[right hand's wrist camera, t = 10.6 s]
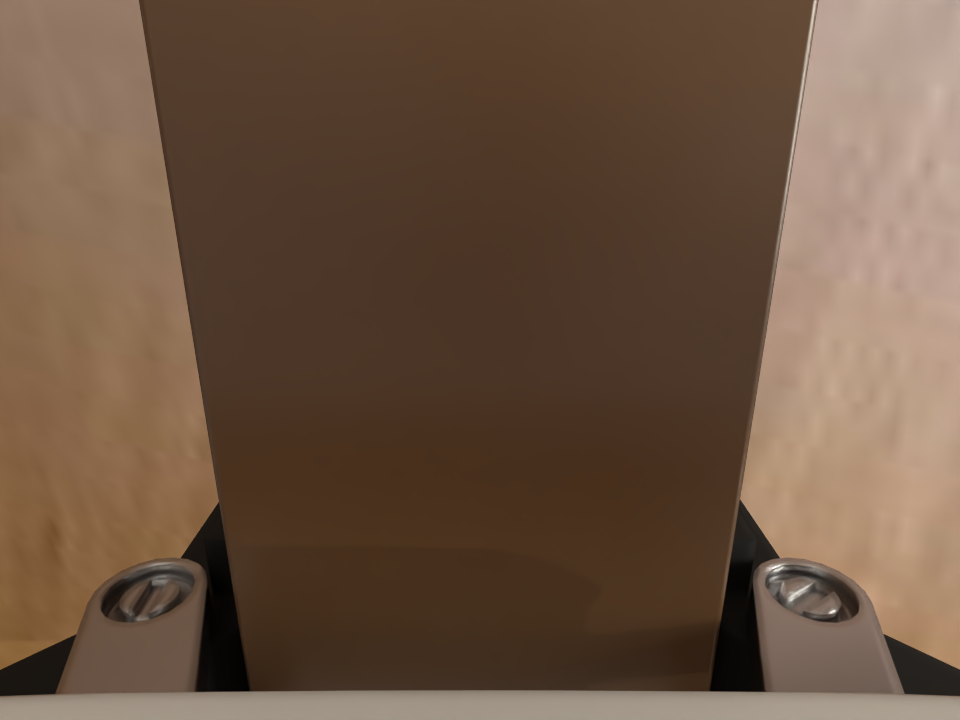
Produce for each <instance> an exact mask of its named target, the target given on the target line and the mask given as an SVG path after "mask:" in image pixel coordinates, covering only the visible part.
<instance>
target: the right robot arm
mask: <svg viewBox="0 0 960 720" xmlns="http://www.w3.org/2000/svg"><path fill="white" fill-rule="evenodd" d="M0 720H960V670H959V669H957V668H955V667H953V666H951V665H949V664H946V663H944V662H942V661H940V660H938V659H936V658H934V657H931V656H929V655H927V654H925V653H923V652H921V651H919V650H917V649H914V648H912V647H910V646H908V645H906V644H904V643H902V642H900V641H897V640H895V639H893V638H891V637H889V636H887V635H885V634H883V632H882V629H881V626H880V623H879V621H878V618H877V615H876V612H875V610H874V607H873V604H872V602H871V600H870V599H869V597H868V595H867V594H866V592H865V591H864V590H863V589H862V588H861V587H860V586H859V585H858V584H857V583H856V582H855V581H854V580H852V579H850V578H849V577H847V576H846V575H844V574H842V573H841V572H839V571H837V570H835V569H833V568H830V567H828V566H826V565H823V564H821V563H817V562H813V561H809V560H805V559H797V558H779V556H778V555H777V553H776V552H775V550H774V549H773V547H772V546H771V544H770V543H769V541H768V540H767V538H766V537H765V535H764V534H763V533H762V531H761V530H760V528H759V527H758V525H757V524H756V522H755V521H754V519H753V518H752V516H751V515H750V513H749V512H748V510H747V509H746V507H745V506H744V505H743V503H742V502H741V500H740V502H739V508H738V515H737V521H736V527H735V534H734V540H733V546H732V553H731V559H730V565H729V572H728V578H727V584H726V591H725V597H724V603H723V610H722V616H721V622H720V629H719V635H718V642H717V648H716V654H715V661H714V667H713V673H712V680H711V686H710V691H565V690H418V691H250V692H249V686H248V680H247V674H246V667H245V661H244V655H243V649H242V642H241V636H240V630H239V623H238V617H237V611H236V605H235V598H234V592H233V586H232V580H231V573H230V567H229V561H228V555H227V548H226V542H225V536H224V529H223V523H222V517H221V511H220V504H219V503H218V504H217V506H216V507H215V509H214V510H213V512H212V513H211V514H210V516H209V517H208V519H207V520H206V522H205V523H204V525H203V526H202V528H201V529H200V531H199V532H198V534H197V535H196V537H195V538H194V539H193V541H192V542H191V544H190V545H189V547H188V548H187V550H186V551H185V553H184V554H183V556H182V557H181V558H163V559H155V560H151V561H147V562H143V563H139V564H137V565H134V566H132V567H130V568H127V569H125V570H123V571H121V572H119V573H118V574H116V575H114V576H113V577H111V578H110V579H108V580H106V581H105V582H104V583H103V584H102V585H101V586H100V587H99V588H98V589H97V590H96V591H95V592H94V594H93V595H92V597H91V599H90V600H89V602H88V604H87V607H86V610H85V612H84V615H83V618H82V621H81V623H80V626H79V629H78V632H77V634H76V635H74V636H72V637H70V638H67V639H65V640H63V641H61V642H59V643H57V644H55V645H53V646H50V647H48V648H46V649H44V650H42V651H40V652H38V653H35V654H33V655H31V656H29V657H27V658H25V659H23V660H21V661H18V662H16V663H14V664H12V665H10V666H8V667H6V668H3V669H1V670H0Z"/></svg>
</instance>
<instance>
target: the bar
mask: <svg viewBox="0 0 960 720" xmlns="http://www.w3.org/2000/svg"><path fill="white" fill-rule="evenodd" d="M139 3H140V9H141V16H142V22H143V28H144V34H145V41H146V47H147V53H148V59H149V66H150V72H151V78H152V85H153V91H154V97H155V103H156V110H157V116H158V122H159V128H160V135H161V141H162V147H163V153H164V160H165V166H166V172H167V179H168V185H169V191H170V197H171V204H172V210H173V216H174V222H175V229H176V235H177V241H178V247H179V254H180V260H181V266H182V273H183V279H184V285H185V291H186V298H187V304H188V310H189V316H190V323H191V329H192V335H193V341H194V348H195V354H196V360H197V367H198V373H199V379H200V385H201V392H202V398H203V404H204V410H205V417H206V423H207V429H208V435H209V442H210V448H211V454H212V461H213V467H214V473H215V479H216V486H217V492H218V498H219V504H220V511H221V517H222V523H223V529H224V536H225V542H226V548H227V555H228V561H229V567H230V573H231V580H232V586H233V592H234V598H235V605H236V611H237V617H238V623H239V630H240V636H241V642H242V649H243V655H244V661H245V667H246V674H247V680H248V686H249V692H250V691H418V690H565V691H710V686H711V680H712V673H713V667H714V661H715V654H716V648H717V642H718V635H719V629H720V622H721V616H722V610H723V603H724V597H725V591H726V584H727V578H728V572H729V565H730V559H731V553H732V546H733V540H734V534H735V527H736V521H737V515H738V508H739V502H740V495H741V489H742V483H743V476H744V470H745V464H746V457H747V451H748V445H749V438H750V432H751V426H752V419H753V413H754V407H755V400H756V394H757V387H758V381H759V375H760V368H761V362H762V356H763V349H764V343H765V337H766V330H767V324H768V318H769V311H770V305H771V299H772V292H773V286H774V279H775V273H776V267H777V260H778V254H779V248H780V241H781V235H782V229H783V222H784V216H785V210H786V203H787V197H788V191H789V184H790V178H791V171H792V165H793V159H794V152H795V146H796V140H797V133H798V127H799V121H800V114H801V108H802V102H803V95H804V89H805V83H806V76H807V70H808V64H809V57H810V51H811V44H812V38H813V32H814V25H815V19H816V13H817V6H818V0H139Z"/></svg>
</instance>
